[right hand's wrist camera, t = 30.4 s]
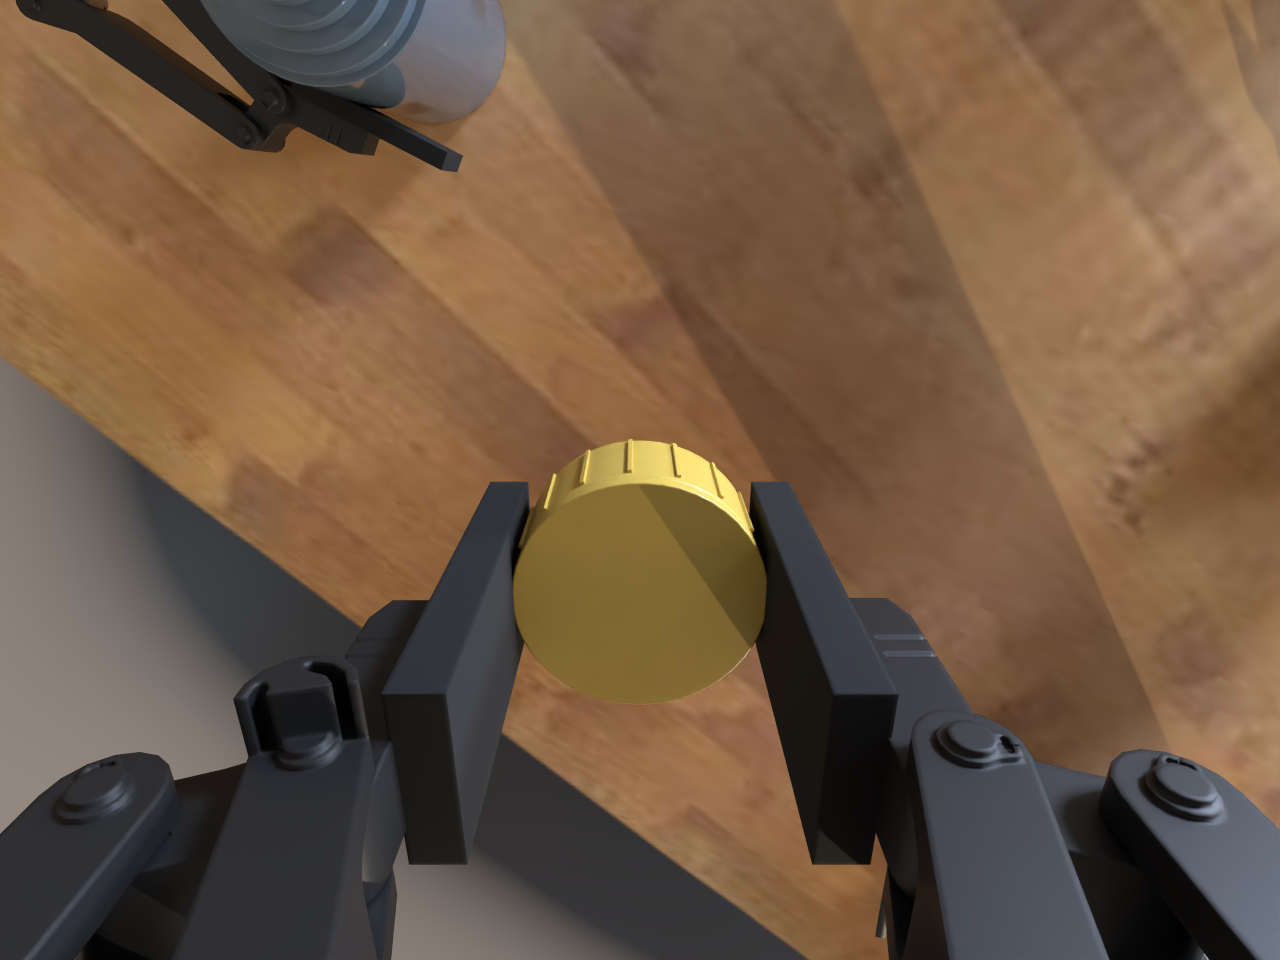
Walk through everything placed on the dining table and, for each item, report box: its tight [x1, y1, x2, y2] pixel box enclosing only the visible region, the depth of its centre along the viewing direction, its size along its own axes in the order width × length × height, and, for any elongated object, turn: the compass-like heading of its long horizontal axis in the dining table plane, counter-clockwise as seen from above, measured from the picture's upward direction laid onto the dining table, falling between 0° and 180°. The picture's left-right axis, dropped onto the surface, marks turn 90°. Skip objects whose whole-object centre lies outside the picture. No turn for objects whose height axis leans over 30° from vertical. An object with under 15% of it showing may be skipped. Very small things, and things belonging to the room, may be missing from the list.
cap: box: [512, 439, 767, 705], centre depth 14 cm, size 5×5×2 cm
